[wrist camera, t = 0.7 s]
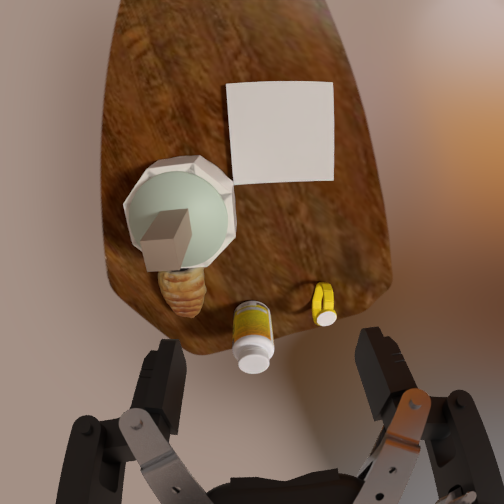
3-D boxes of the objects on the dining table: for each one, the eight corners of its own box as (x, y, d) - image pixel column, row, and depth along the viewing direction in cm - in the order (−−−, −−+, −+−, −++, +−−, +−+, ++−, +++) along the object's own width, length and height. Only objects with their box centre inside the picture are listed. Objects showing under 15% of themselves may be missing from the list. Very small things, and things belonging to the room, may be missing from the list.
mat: (226, 84, 29) (225, 83, 28) (331, 82, 29) (332, 82, 28) (233, 183, 35) (233, 184, 34) (332, 179, 35) (333, 180, 34)
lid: (122, 178, 28) (89, 202, 22) (223, 165, 28) (215, 187, 21) (142, 265, 34) (121, 306, 27) (232, 260, 34) (229, 304, 27)
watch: (322, 306, 45) (330, 334, 40) (305, 305, 44) (311, 334, 39) (332, 275, 41) (342, 303, 36) (313, 274, 41) (322, 303, 36)
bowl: (134, 162, 33) (116, 173, 28) (231, 150, 33) (228, 159, 28) (151, 249, 39) (139, 270, 34) (238, 243, 39) (238, 265, 34)
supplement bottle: (228, 304, 43) (224, 356, 35) (263, 294, 43) (268, 345, 34) (241, 330, 46) (240, 381, 37) (274, 321, 45) (280, 372, 36)
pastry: (210, 310, 44) (208, 327, 41) (168, 310, 44) (163, 326, 41) (204, 256, 40) (200, 271, 36) (156, 257, 40) (149, 272, 36)
